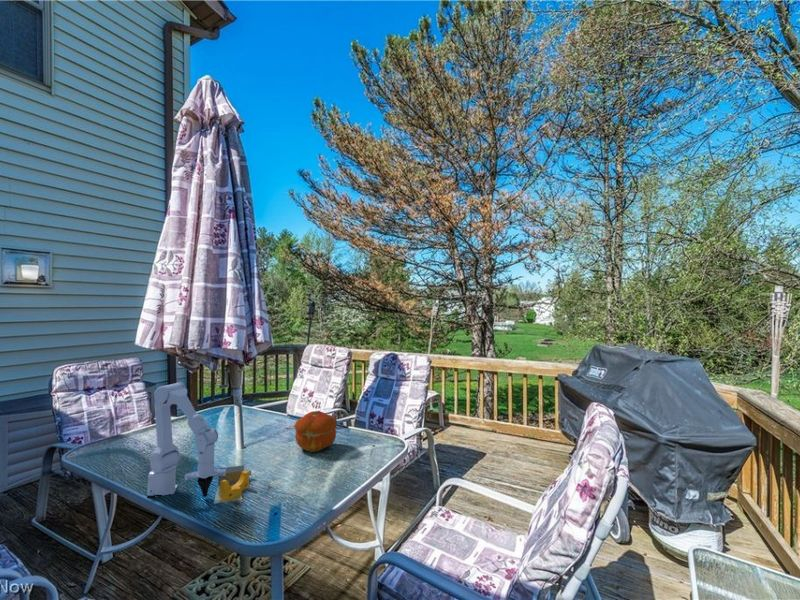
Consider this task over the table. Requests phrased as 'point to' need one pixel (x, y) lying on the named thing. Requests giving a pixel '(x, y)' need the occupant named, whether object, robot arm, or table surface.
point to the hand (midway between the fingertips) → (205, 495)
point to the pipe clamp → (234, 486)
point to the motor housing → (230, 482)
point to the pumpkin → (315, 431)
